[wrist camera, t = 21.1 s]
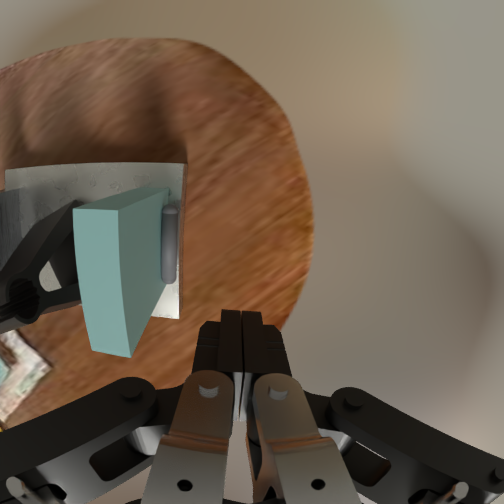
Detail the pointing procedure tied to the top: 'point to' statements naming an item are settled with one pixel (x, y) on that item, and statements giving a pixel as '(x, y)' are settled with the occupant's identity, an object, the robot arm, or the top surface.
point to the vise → (86, 191)
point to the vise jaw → (124, 264)
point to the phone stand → (30, 265)
